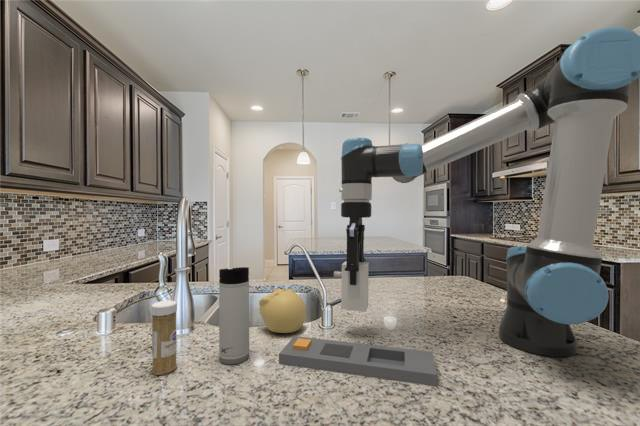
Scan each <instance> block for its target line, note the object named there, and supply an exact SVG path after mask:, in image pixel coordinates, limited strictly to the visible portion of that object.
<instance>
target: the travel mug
mask: <svg viewBox="0 0 640 426" xmlns="http://www.w3.org/2000/svg"><path fill="white" fill-rule="evenodd" d="M249 271H250V267H249V266H247V267H244V266H243V267H233V268H230V269H229V268H222V269H219V275H218V276H219V277H218V278H219V280H218V284H219V286H218V302H219V303H218V308H219V309H218V332H219V333H218V334H219V335H218V336H219V337H218V344H219V346H218V347H219V349H218V352H219V354H218V355H219V356H218V357H219V358H218V359H219V361H220V362H221V363H222V364H223V365H237V364H241V363H243V362H245V361H246V360H248V359H249V357H250V277H249V276H250V275H249V274H250V272H249Z"/></svg>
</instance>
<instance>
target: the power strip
mask: <svg viewBox="0 0 640 426" xmlns="http://www.w3.org/2000/svg"><path fill="white" fill-rule="evenodd" d="M434 357H435V355H434V352H433V351H429V350H428V351H427V350H418V349H410V348H403V347H402V348H401V347H394V346H385V345H375V344H368V343H367V344H366V343H358V342H348V341H341V340H332V339H323V338H314V337H305V336H299V335H298V336H296V335H294V336H293V337H292V338H291V339H290V340H289V342H287V344H286V345H285V346H284V347H283V348H282V349H281V351H280V352H279V353H278V365H285V366H292V367H298V368H307V369H313V370H319V371H320V370H321V371H327V372H334V373H341V374H347V375H355V376H361V377H368V378H375V379H381V380H389V381H395V382H403V383H411V384H417V385H424V386H425V385H426V386H429V387H430V386H431V387H438V372H437V366H436V361H435V358H434Z"/></svg>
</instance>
